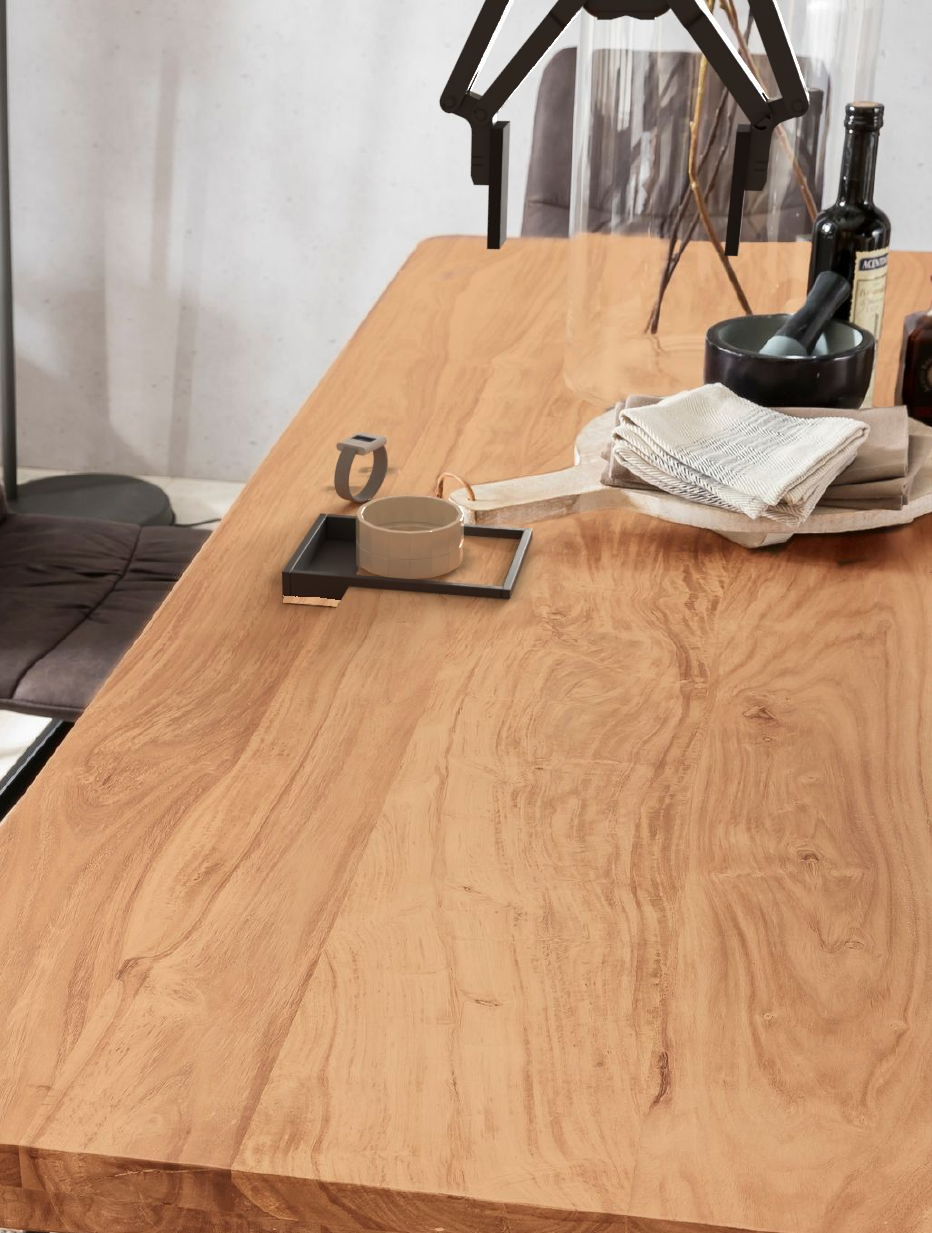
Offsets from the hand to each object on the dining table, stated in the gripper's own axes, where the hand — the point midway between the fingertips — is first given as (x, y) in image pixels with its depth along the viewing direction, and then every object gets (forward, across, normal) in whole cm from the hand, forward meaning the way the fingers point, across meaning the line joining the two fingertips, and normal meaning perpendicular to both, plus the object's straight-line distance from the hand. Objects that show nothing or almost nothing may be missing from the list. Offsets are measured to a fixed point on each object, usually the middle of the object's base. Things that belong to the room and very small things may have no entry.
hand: (612, 248), depth 100 cm
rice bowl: (+25, +14, -10) cm, 31 cm away
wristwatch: (+26, +21, -26) cm, 42 cm away
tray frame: (+26, +14, -10) cm, 31 cm away
